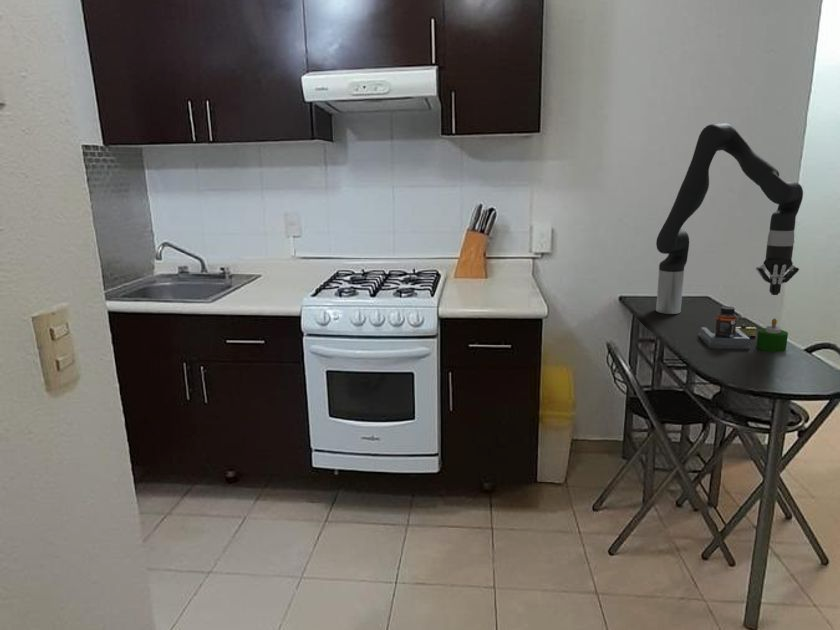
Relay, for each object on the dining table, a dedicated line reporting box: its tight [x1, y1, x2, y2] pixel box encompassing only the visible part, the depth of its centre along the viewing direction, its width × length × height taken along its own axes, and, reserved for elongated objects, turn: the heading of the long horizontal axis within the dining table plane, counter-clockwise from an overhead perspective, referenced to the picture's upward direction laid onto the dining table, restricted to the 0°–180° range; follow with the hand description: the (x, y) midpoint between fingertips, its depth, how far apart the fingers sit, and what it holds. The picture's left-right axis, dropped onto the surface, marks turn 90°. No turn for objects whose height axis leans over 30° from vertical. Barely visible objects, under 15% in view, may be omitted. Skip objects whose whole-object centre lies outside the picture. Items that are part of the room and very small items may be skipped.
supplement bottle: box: [715, 305, 738, 337], centre depth 195 cm, size 6×6×11 cm
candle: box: [756, 317, 789, 353], centre depth 189 cm, size 8×8×10 cm
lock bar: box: [736, 323, 758, 338], centre depth 203 cm, size 2×8×4 cm, turn 79°
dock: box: [698, 326, 751, 350], centre depth 197 cm, size 14×12×4 cm
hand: (774, 294), depth 198 cm, fingers closed
